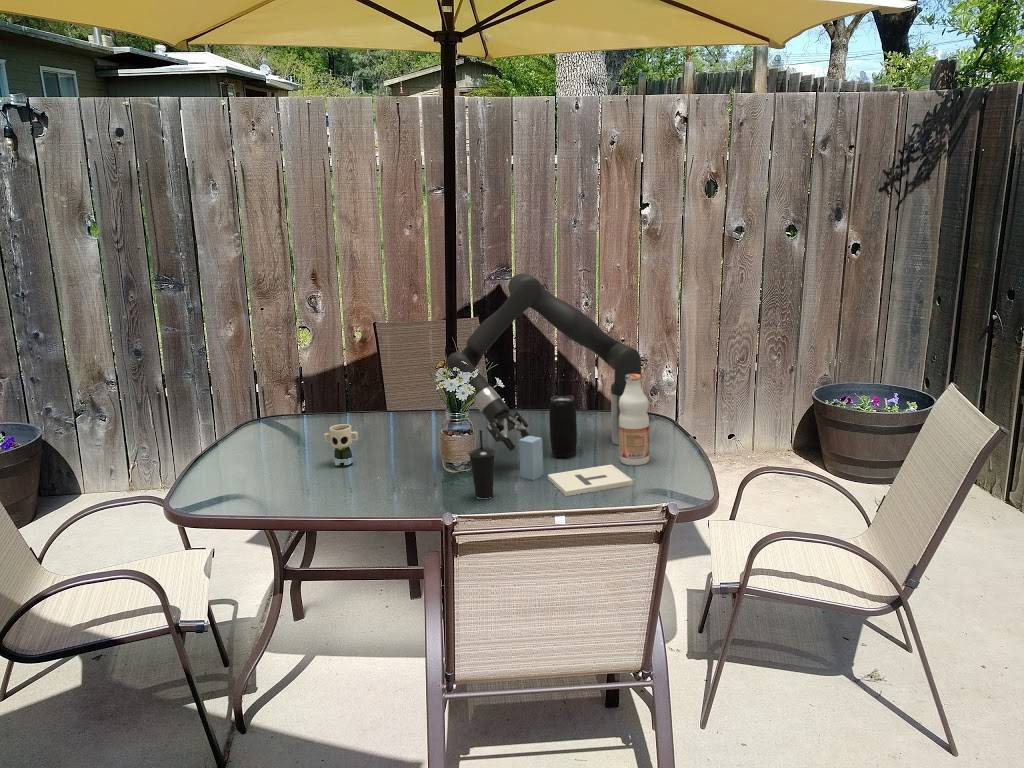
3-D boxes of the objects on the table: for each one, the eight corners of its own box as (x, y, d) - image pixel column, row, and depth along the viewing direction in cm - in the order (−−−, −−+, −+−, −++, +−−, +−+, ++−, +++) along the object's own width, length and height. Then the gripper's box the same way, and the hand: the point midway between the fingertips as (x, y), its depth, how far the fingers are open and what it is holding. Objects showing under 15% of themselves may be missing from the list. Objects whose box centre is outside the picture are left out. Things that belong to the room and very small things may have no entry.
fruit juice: (613, 460, 259) (611, 375, 252) (635, 454, 264) (634, 370, 257) (633, 468, 252) (631, 380, 245) (655, 461, 257) (655, 375, 250)
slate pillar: (530, 472, 253) (528, 435, 250) (543, 475, 250) (541, 438, 247) (520, 477, 249) (518, 440, 246) (533, 480, 246) (532, 442, 243)
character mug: (325, 469, 265) (321, 431, 261) (329, 462, 272) (325, 424, 268) (358, 467, 265) (354, 429, 261) (362, 460, 271) (358, 423, 268)
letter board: (611, 468, 252) (611, 464, 252) (632, 485, 238) (632, 480, 238) (547, 479, 246) (547, 474, 246) (566, 496, 232) (565, 491, 232)
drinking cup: (474, 503, 230) (470, 436, 225) (468, 494, 237) (464, 428, 233) (500, 499, 232) (497, 432, 227) (494, 490, 239) (490, 425, 234)
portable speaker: (578, 450, 270) (576, 393, 266) (575, 460, 262) (574, 401, 257) (552, 450, 272) (550, 393, 267) (549, 459, 263) (547, 401, 258)
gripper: (482, 402, 245) (514, 444, 241) (511, 392, 256) (542, 432, 252) (470, 417, 250) (501, 458, 246) (498, 406, 261) (529, 445, 257)
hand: (521, 445), depth 249 cm, fingers open, 8 cm apart
